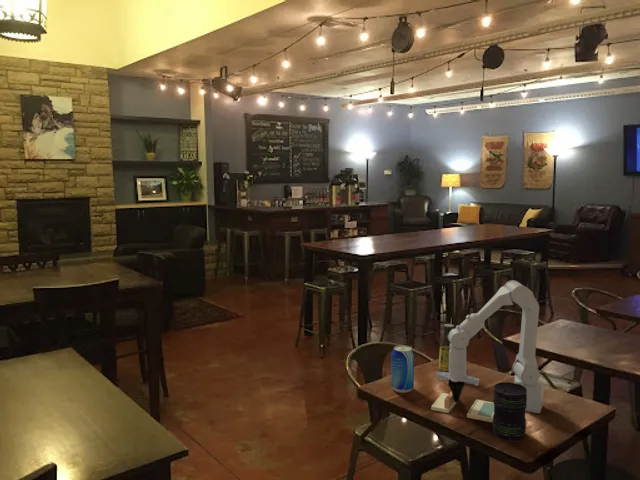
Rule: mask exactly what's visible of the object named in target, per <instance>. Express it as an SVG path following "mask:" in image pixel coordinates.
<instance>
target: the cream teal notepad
mask: <svg viewBox="0 0 640 480" xmlns="http://www.w3.org/2000/svg"><path fill="white" fill-rule="evenodd" d="M493 415H494V402H492V401H486V400H482V399H476V400H475V401H474V403H473V404H472V406H471V407H470V409H469V410H468V412H467V413H466V418H469V419H473V420H479V421H483V422H488V423H492V424H493Z"/></svg>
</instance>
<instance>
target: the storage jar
mask: <svg viewBox="0 0 640 480" xmlns="http://www.w3.org/2000/svg"><path fill="white" fill-rule="evenodd" d="M492 397H493V400H492V401H493V403H494V415H493V423H492V434H493V435H494V437H496V438H497V439H500V440H503V441H505V442H515V443H516V442H520V441H523V440H524V439H525V438H526V429H527V419H526V411H525V409H526V406H527V404H526V403H527V389H526V388H525V387H524V386H522V385H519V384H516V383H514V382H508V381H507V382H498V383H496V384H495V385H494V386H493V396H492Z"/></svg>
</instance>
